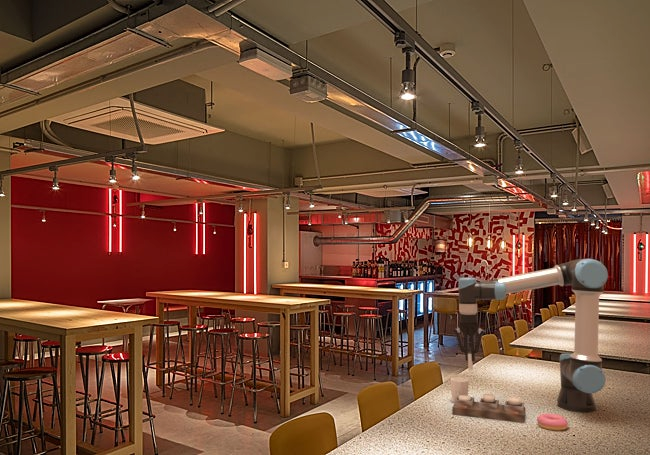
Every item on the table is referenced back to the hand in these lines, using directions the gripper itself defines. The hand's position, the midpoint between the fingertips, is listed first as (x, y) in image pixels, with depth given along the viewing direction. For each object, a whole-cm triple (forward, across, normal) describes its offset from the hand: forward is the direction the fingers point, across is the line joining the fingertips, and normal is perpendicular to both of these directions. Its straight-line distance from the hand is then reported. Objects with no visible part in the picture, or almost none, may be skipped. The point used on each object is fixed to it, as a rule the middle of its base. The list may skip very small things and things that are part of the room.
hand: (470, 368), depth 208 cm
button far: (+14, +3, 0) cm, 14 cm away
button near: (+13, -17, 0) cm, 21 cm away
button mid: (+13, -7, 0) cm, 14 cm away
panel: (+18, -7, +2) cm, 19 cm away
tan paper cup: (+18, +7, -12) cm, 23 cm away
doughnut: (+19, -31, +7) cm, 37 cm away
